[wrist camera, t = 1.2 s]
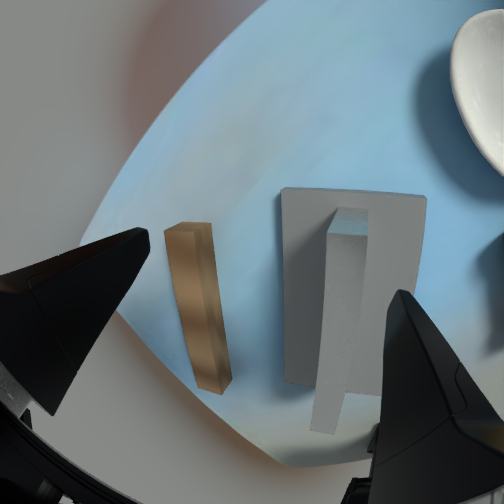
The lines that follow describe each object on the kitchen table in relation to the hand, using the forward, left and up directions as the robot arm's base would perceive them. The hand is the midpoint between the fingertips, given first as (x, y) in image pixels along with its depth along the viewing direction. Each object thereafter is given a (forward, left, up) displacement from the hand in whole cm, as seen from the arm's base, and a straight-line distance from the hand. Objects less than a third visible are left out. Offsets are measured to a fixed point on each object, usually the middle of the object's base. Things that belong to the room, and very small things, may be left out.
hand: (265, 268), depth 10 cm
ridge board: (-8, -2, -12) cm, 15 cm away
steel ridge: (-8, -2, -11) cm, 14 cm away
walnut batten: (-11, +11, -12) cm, 20 cm away
